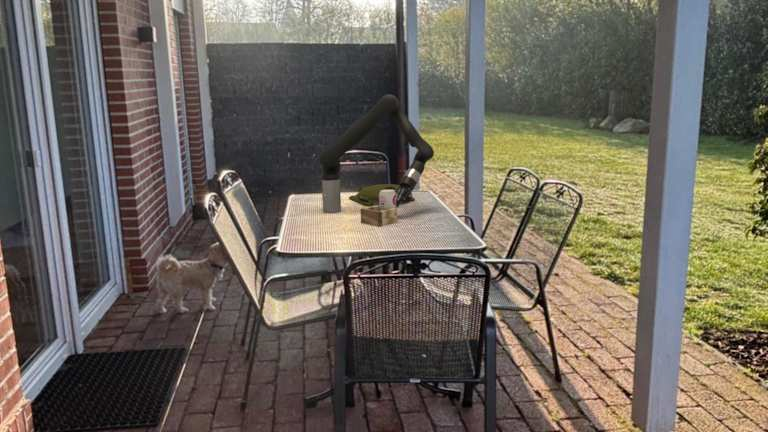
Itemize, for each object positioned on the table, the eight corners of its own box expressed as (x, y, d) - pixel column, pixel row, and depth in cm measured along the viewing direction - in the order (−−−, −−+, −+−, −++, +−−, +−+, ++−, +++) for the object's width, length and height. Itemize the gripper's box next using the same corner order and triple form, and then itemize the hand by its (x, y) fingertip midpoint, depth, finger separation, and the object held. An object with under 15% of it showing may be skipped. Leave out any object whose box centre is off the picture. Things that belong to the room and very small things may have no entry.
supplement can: (398, 219, 323) (397, 189, 320) (394, 222, 316) (393, 192, 313) (382, 218, 326) (381, 189, 323) (378, 222, 318) (377, 191, 315)
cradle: (378, 219, 325) (377, 205, 324) (397, 222, 316) (396, 208, 315) (361, 223, 318) (360, 208, 316) (380, 226, 308) (379, 212, 307)
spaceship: (347, 199, 385) (347, 183, 383) (395, 194, 397) (395, 178, 395) (370, 209, 353) (369, 191, 351) (421, 203, 365) (421, 186, 363)
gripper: (396, 174, 331) (380, 201, 325) (416, 176, 322) (399, 204, 316) (404, 183, 336) (388, 210, 330) (423, 185, 326) (407, 213, 321)
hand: (394, 207), depth 323 cm, fingers closed
